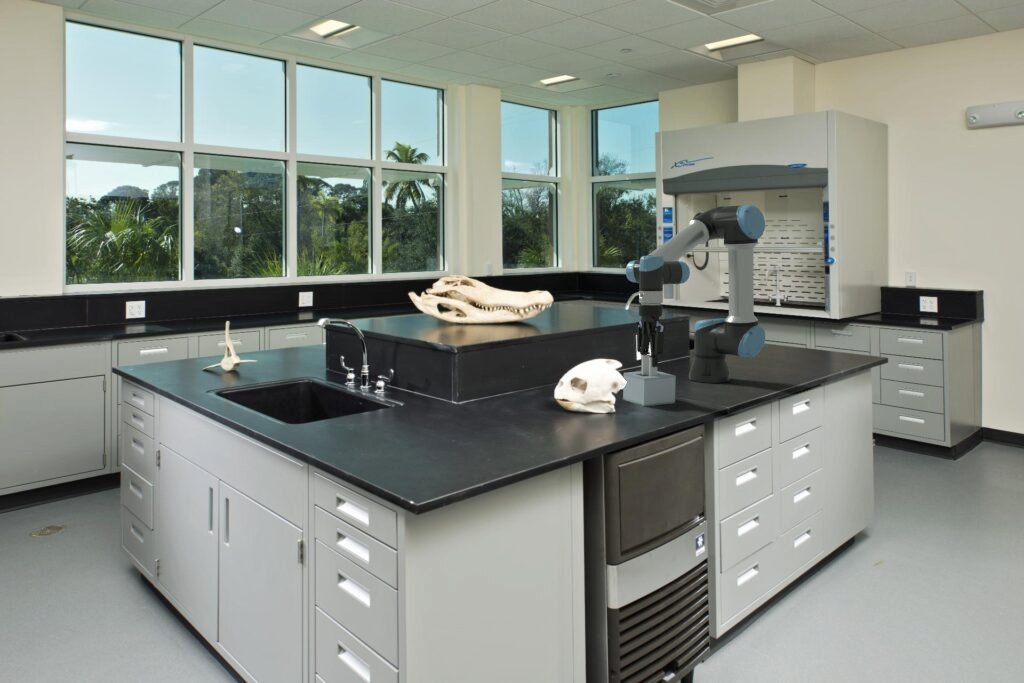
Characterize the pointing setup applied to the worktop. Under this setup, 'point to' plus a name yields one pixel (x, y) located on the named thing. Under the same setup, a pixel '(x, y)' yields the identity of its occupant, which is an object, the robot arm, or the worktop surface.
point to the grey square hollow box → (649, 388)
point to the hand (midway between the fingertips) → (649, 375)
